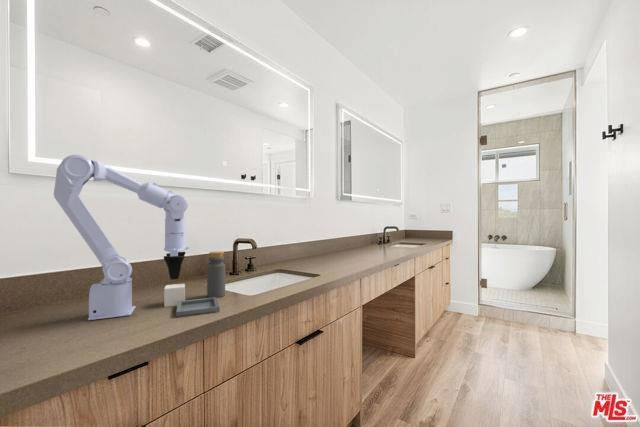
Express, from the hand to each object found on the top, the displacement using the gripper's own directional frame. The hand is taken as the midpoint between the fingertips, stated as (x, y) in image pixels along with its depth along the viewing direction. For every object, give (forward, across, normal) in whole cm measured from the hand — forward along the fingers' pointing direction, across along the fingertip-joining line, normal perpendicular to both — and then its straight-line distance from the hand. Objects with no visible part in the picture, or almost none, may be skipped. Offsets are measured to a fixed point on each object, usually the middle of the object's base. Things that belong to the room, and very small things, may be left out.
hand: (175, 276), depth 91 cm
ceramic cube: (+8, 0, 0) cm, 8 cm away
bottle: (+8, +4, -12) cm, 16 cm away
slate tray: (+8, -9, -6) cm, 14 cm away
